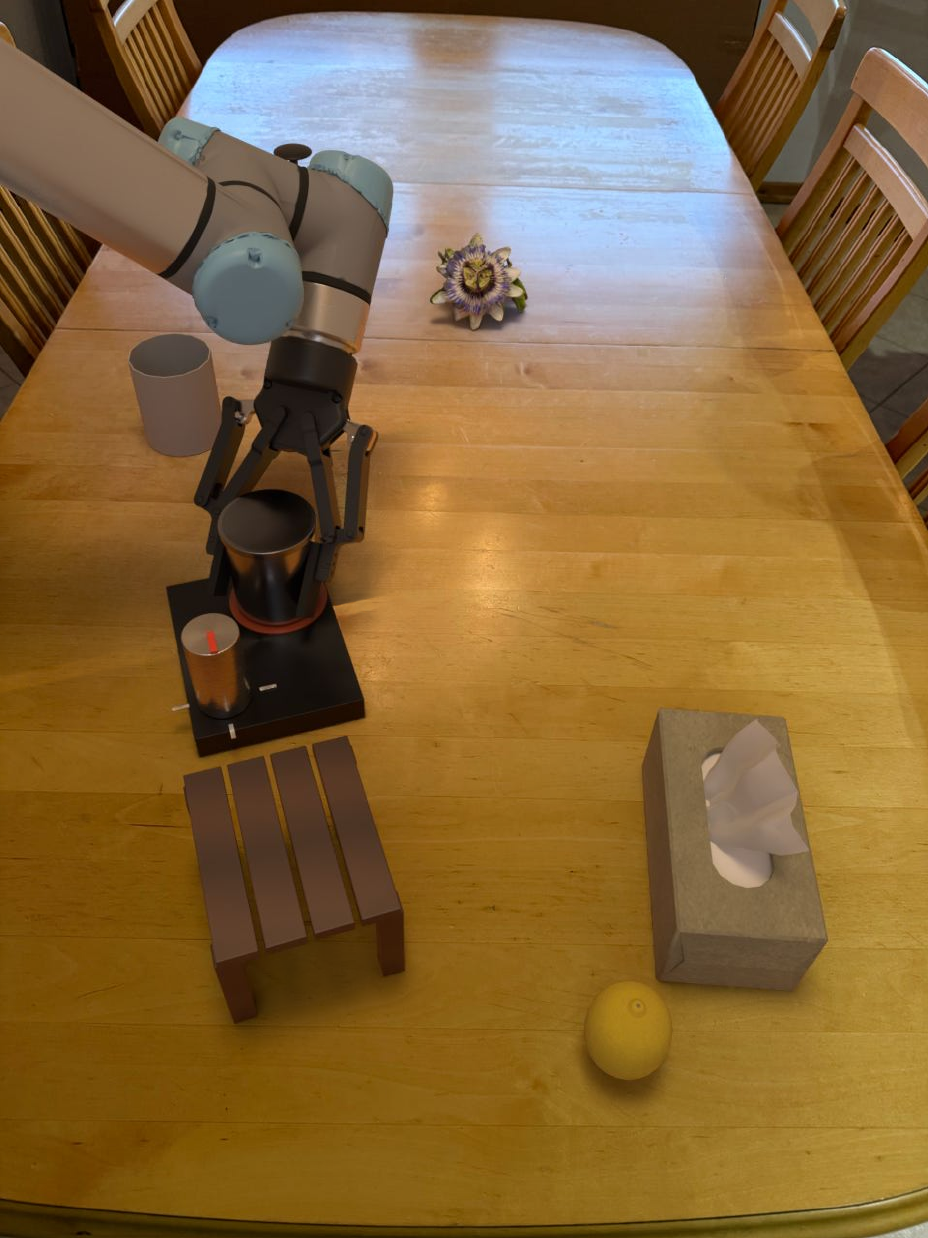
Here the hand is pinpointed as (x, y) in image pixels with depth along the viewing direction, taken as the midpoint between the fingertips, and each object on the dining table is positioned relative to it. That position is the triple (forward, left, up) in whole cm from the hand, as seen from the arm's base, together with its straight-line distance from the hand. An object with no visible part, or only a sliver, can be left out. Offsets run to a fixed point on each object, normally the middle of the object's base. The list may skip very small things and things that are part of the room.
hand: (259, 605), depth 86 cm
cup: (-33, -3, -5) cm, 34 cm away
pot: (-3, +2, -2) cm, 4 cm away
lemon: (+43, +15, -5) cm, 46 cm away
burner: (-3, +2, -2) cm, 4 cm away
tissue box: (+33, +28, -5) cm, 43 cm away
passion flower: (-49, +37, -5) cm, 62 cm away
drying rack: (+26, -3, -5) cm, 27 cm away
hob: (+2, -1, -5) cm, 5 cm away
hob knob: (+7, -5, -2) cm, 9 cm away
